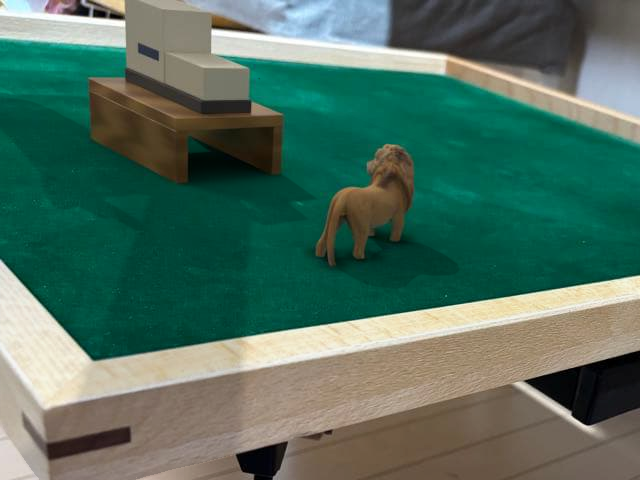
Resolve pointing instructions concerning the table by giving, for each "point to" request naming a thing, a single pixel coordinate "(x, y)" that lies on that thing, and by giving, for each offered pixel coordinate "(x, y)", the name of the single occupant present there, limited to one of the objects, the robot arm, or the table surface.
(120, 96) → the low wooden table
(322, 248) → the lion figurine
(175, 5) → the grey stepped block
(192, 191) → the table surface
